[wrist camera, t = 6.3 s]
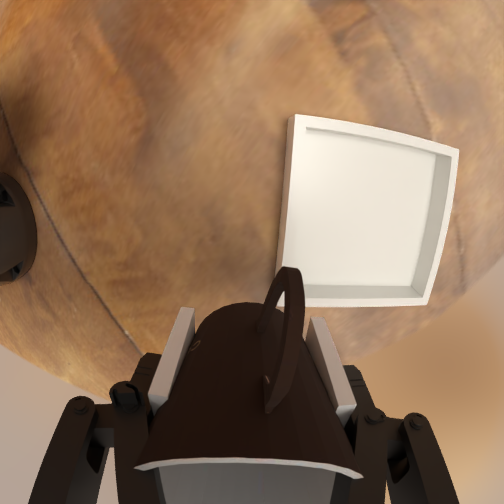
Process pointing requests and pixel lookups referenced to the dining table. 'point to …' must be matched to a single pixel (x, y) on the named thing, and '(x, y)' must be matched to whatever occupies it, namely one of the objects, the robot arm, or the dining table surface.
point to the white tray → (363, 212)
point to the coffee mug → (250, 411)
